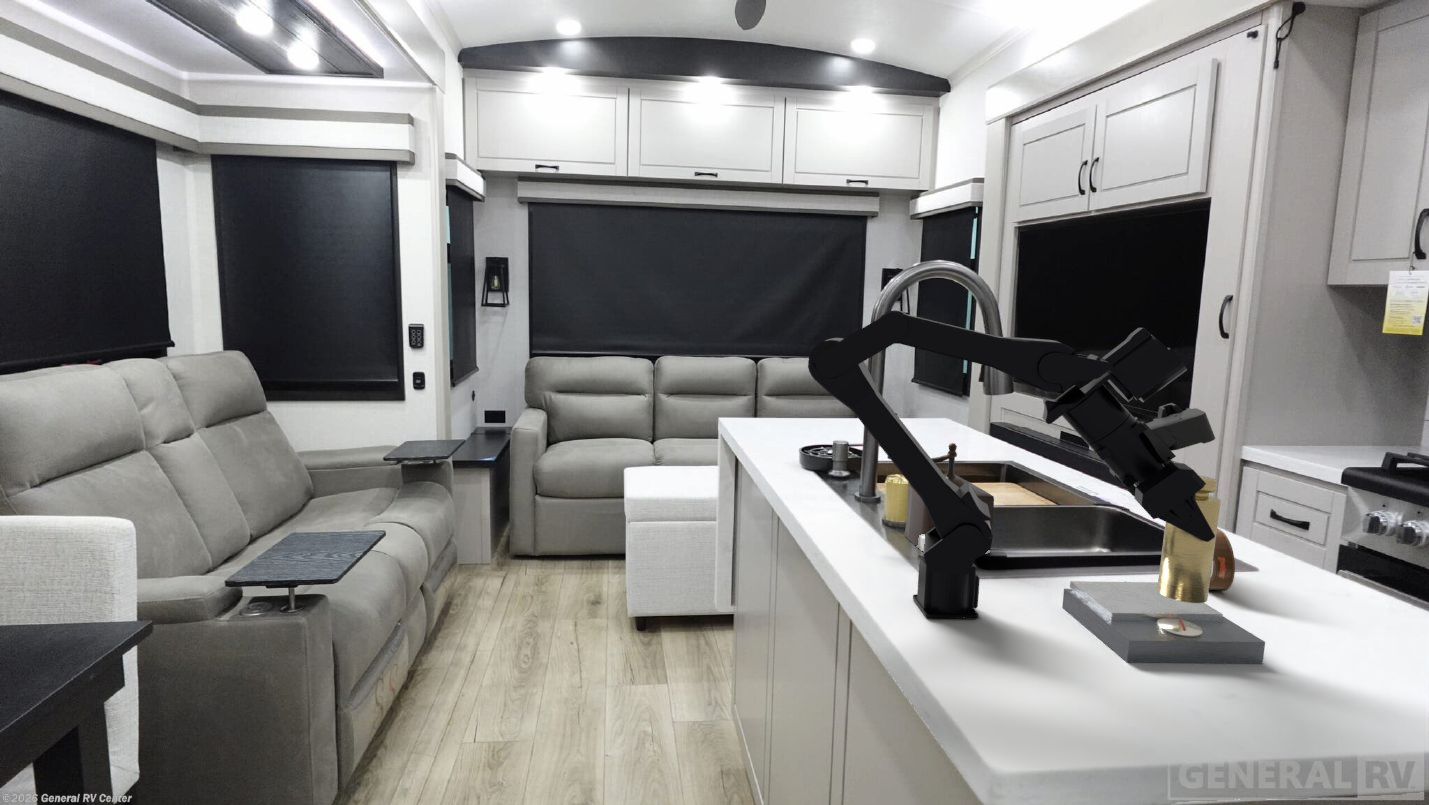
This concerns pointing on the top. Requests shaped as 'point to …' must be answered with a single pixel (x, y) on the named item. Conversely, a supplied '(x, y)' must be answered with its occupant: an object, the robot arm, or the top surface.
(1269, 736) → the top surface
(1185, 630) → the scale
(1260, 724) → the top surface
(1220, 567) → the tin
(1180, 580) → the weight
